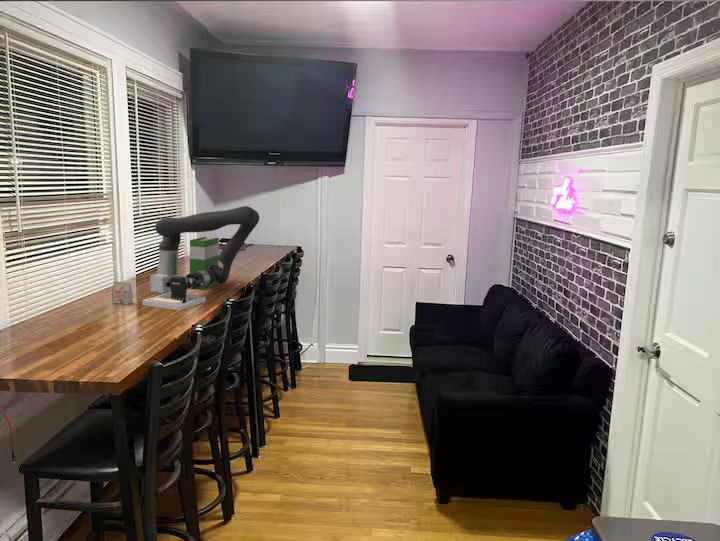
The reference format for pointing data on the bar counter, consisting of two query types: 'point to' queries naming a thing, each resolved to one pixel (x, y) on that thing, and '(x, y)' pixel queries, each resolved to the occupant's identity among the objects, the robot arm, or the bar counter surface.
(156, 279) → the medicine box
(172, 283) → the battery charger
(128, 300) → the tea bag
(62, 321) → the bar counter surface
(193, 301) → the tray
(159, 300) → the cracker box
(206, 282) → the robot arm
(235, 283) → the bar counter surface
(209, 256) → the hardback book
